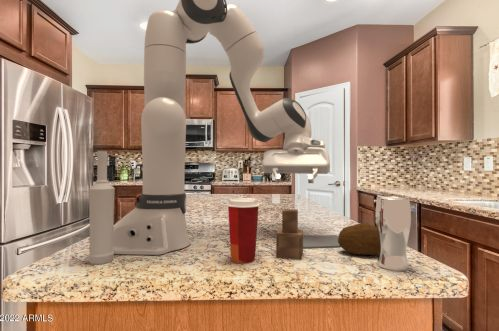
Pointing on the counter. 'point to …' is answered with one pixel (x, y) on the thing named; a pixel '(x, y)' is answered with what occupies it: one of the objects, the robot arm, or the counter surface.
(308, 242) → the grey mat
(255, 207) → the paper cup
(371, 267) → the counter surface
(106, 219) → the bottle
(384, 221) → the beer glass
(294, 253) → the walnut cover
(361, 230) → the potato
